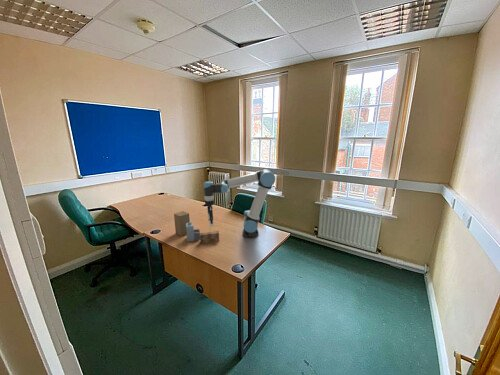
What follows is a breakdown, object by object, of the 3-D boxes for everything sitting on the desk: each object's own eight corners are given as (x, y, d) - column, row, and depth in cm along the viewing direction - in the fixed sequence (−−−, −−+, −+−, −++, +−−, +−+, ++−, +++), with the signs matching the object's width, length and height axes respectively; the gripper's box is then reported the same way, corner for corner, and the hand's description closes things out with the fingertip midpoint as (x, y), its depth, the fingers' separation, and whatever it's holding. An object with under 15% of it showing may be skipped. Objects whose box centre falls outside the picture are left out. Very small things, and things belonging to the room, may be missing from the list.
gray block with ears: (199, 235, 192) (198, 219, 188) (200, 239, 185) (199, 222, 181) (187, 237, 189) (186, 220, 185) (187, 241, 182) (185, 224, 178)
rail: (218, 239, 186) (218, 230, 184) (219, 241, 182) (218, 232, 180) (200, 241, 182) (199, 233, 180) (200, 243, 178) (200, 235, 176)
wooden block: (184, 229, 204) (183, 210, 200) (190, 232, 198) (189, 213, 193) (175, 233, 197) (173, 213, 192) (181, 236, 191) (179, 216, 186)
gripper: (203, 196, 183) (205, 218, 188) (206, 205, 160) (207, 230, 165) (212, 195, 185) (213, 217, 190) (215, 204, 162) (217, 229, 167)
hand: (210, 223), depth 178 cm, fingers open, 13 cm apart
